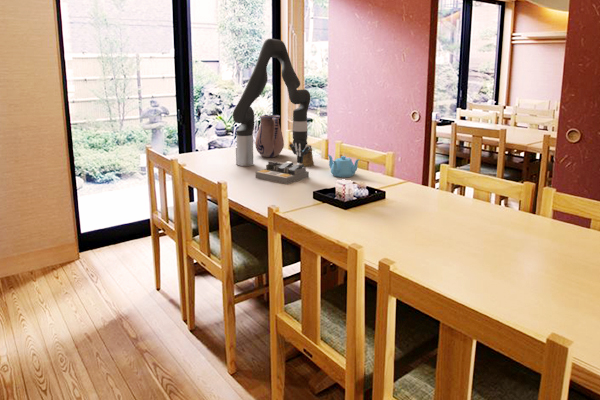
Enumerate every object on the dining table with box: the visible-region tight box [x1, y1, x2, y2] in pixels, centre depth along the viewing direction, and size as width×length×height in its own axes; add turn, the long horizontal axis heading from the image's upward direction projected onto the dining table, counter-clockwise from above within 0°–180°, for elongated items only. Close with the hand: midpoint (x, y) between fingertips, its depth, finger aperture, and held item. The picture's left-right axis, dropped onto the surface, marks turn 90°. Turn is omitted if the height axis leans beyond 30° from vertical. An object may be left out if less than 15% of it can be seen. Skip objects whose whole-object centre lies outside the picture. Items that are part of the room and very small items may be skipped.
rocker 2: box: [278, 160, 294, 171], centre depth 269 cm, size 4×8×2 cm, turn 142°
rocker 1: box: [267, 161, 281, 166], centre depth 273 cm, size 4×8×2 cm, turn 142°
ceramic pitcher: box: [255, 114, 285, 158], centre depth 314 cm, size 18×21×25 cm
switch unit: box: [255, 162, 310, 185], centre depth 267 cm, size 21×18×6 cm
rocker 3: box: [289, 162, 305, 173], centre depth 265 cm, size 4×8×2 cm, turn 142°
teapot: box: [327, 154, 361, 178], centre depth 271 cm, size 15×15×10 cm
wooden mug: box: [301, 144, 315, 168], centre depth 295 cm, size 9×14×18 cm, turn 27°
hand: (300, 162), depth 266 cm, fingers closed
